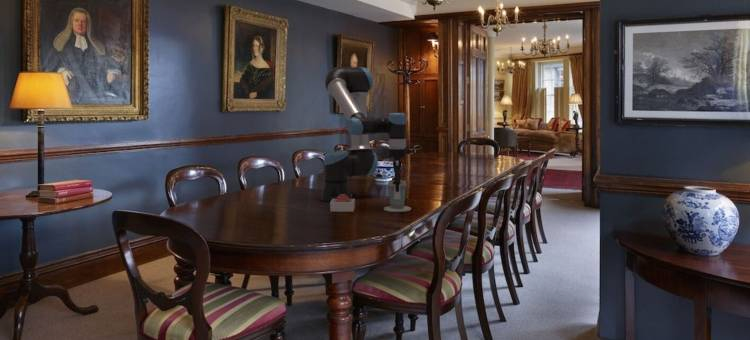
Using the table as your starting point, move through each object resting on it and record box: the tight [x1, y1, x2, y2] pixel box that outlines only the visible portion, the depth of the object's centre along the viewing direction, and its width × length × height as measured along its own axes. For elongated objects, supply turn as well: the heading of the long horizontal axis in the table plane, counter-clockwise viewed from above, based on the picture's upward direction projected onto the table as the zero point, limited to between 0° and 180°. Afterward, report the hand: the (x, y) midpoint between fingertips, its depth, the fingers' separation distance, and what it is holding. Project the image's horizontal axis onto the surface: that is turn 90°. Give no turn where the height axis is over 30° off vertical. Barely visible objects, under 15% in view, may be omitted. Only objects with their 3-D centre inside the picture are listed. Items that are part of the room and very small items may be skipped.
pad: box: [383, 205, 412, 213], centre depth 251 cm, size 12×12×1 cm
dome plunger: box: [334, 194, 352, 202], centre depth 251 cm, size 8×8×5 cm
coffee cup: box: [387, 179, 408, 209], centre depth 251 cm, size 8×8×12 cm
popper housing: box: [329, 198, 356, 213], centre depth 251 cm, size 10×10×4 cm
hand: (397, 196), depth 250 cm, fingers open, 13 cm apart
